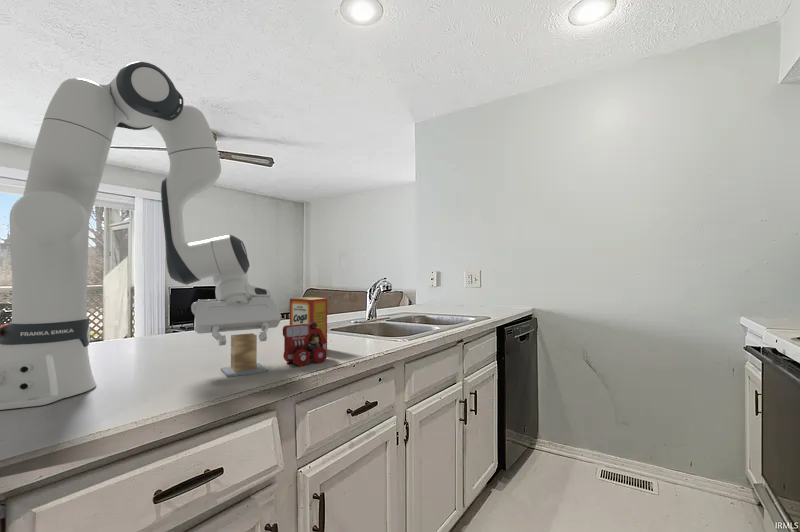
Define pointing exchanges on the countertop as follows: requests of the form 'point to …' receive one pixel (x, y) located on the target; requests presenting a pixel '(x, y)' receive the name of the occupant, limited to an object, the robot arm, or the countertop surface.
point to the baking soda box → (309, 312)
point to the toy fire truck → (304, 344)
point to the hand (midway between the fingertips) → (243, 341)
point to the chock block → (243, 352)
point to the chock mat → (231, 373)
